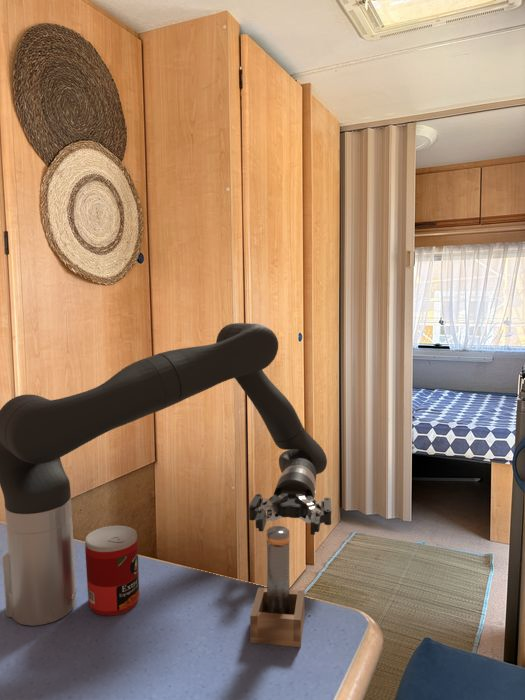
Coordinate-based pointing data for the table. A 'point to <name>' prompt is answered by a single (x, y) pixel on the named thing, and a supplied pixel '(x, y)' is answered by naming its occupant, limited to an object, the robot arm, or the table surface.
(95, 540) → the canned food
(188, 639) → the table surface
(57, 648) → the table surface
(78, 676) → the table surface
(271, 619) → the wooden masu cup
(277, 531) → the cylinder
